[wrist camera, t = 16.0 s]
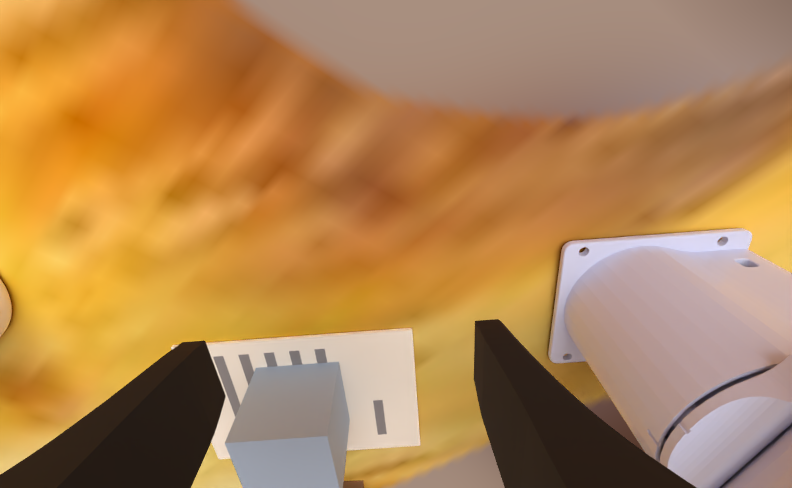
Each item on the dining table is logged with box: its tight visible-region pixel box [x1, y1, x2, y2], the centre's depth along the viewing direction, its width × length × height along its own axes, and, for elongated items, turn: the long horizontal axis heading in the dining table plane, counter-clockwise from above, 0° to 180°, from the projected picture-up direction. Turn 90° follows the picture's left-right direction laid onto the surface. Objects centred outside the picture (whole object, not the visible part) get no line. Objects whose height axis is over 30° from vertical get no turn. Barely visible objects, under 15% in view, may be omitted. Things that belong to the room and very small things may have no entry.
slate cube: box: [225, 362, 350, 488], centre depth 22 cm, size 5×5×5 cm
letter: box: [171, 328, 420, 459], centre depth 25 cm, size 14×10×1 cm
